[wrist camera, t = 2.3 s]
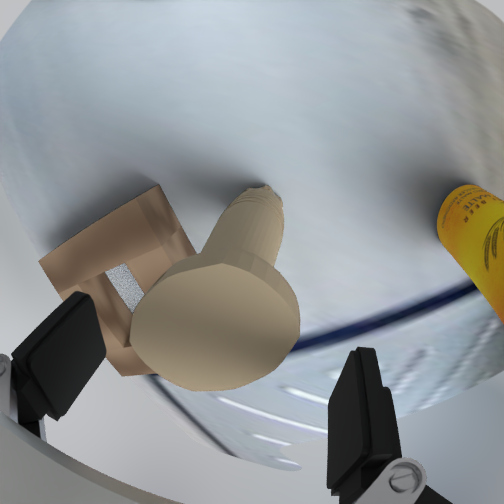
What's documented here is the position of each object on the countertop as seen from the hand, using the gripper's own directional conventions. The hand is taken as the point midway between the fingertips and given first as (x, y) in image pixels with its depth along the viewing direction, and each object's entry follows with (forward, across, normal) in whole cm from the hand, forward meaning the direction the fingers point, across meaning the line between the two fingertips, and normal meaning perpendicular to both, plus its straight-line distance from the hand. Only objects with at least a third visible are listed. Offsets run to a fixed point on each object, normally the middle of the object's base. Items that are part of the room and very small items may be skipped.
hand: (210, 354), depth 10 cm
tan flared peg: (+15, 0, -1) cm, 15 cm away
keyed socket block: (+15, +11, +9) cm, 21 cm away
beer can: (+15, -17, -3) cm, 23 cm away
